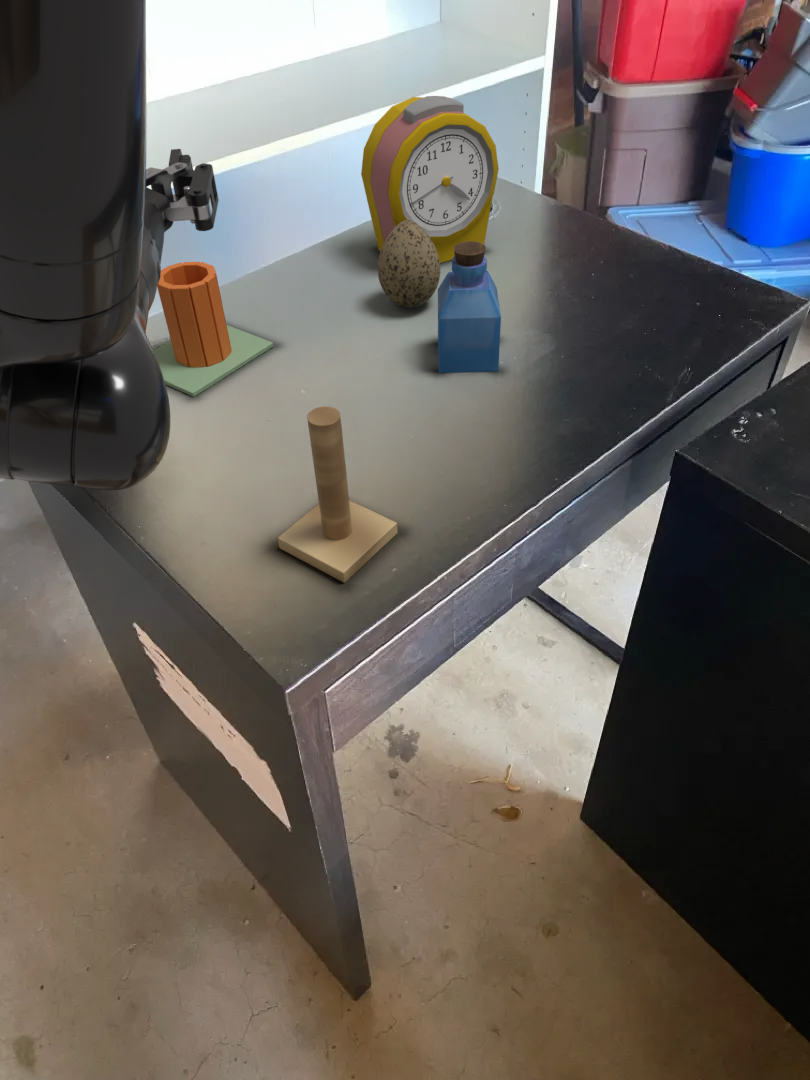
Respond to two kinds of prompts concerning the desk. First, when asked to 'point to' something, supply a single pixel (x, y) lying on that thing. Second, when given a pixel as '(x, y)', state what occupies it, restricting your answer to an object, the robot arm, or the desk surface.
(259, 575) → the desk surface
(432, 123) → the alarm clock
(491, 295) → the perfume bottle
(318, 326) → the desk surface
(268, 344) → the mat
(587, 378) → the desk surface
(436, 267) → the decorative egg
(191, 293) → the orange stave pencil cup
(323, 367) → the desk surface
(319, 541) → the stand
